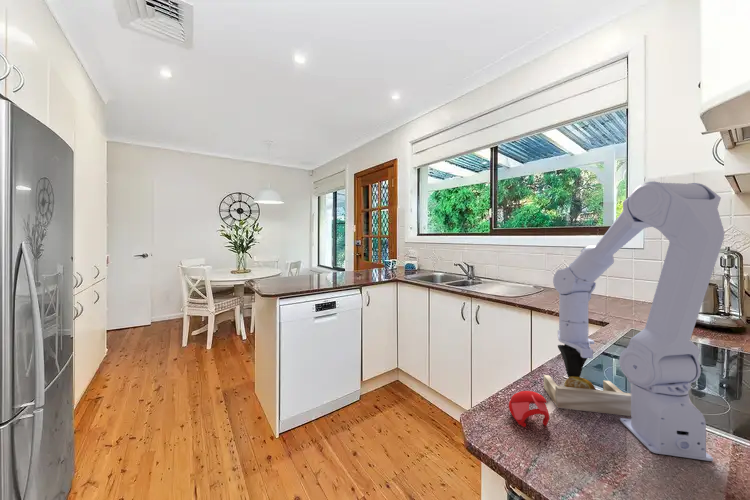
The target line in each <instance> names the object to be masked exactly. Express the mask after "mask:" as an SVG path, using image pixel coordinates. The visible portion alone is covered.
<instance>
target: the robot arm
mask: <svg viewBox="0 0 750 500" xmlns="http://www.w3.org/2000/svg"><path fill="white" fill-rule="evenodd" d="M721 199H722V197H721V196H720V195H719V194H717V193H715V191H714V190H712V189H711V188H710V187H708V186H707V185H706V184H703V183H699V182H690V183H680V182H679V183H676V182H660V181H655V180H654V181H646V182H643V183H641V184H639V185H638V186H636V187H635V188H634V189H633V190H632V191H631V193H630V195H629V196H628V197H627V198H626V199H625V200H623V202H622V212H621V213H620V214H619V215H618V217H617V218H616V219H615V220H614V221H613V223H612V224H611V225H610V227H609V228H608V230H607V231H606V232H605V233H604V235H603V236H601V238H600V240H599V241H598V242H597V244H596V245H588V246H586V247H583V248H582V249H581V250H580V254H579V255H578V256H577V257H576V258H575V259H574V260H573V261H572V262H571V263H569V266H567V267H565V268H560V269H557V270H556V272H555V273H554V276H553V281H552V282H553V286H554V289H555V290H556V291H557V292H558V294H559V295H558V296H559V297H558V298H559V299H558V300H559V304H558V305H559V306H558V309H559V310H558V312H559V313H558V315H559V317H558V324H559V325H558V328H559V329H558V330H557V340H558V342H560V343H561V344H558V345H557V348H558V350H559V352H560V354H561V356H562V360H563V363H564V366H565V371H566V375H567V378H569V377H572V376H574V377H581V375H582V370H583V368H584V366H585V363H586V362H587V360H588V359H593V358H594V356H593V355H594V350H593V348H591V345H595V340H593V339H592V338H589V302H590V301H591V299H592V293H593V292H594V291H595V289H596V285H597V282H596V281H597V280H598V279H599V278H600V277H601V276H602V275H603V274H604V273H605V272H606V271H607V270H608V269H609V268H611V266H613V265H614V262H615V259H614V255H615V254H616V253H617V252H618V251H620V250H621V249H622V248H623V247H625V245H626V244H627V243H629V242H630V241H631V240H633V238H635V237H636V236H637V235H638V234H639V233H641V231H643V230H644V229H646V228H655V230H658V231H659V232H660V233H661V234H662V235H663V236H664V237H665V238H666V239H667V240H668V241H669V244H668V248H667V251H666V254H665V258H664V261H663V264H662V268H661V271H660V274H659V278H658V282H657V286H656V289H655V293H654V296H653V299H652V303H651V306H650V310H649V313H648V317H647V321H646V323H645V327H644V328H643V329H642V330H640V331H639V332H638V333H636V334H635V335H634V336H632V337H631V338H630V340H629V343H628V345H627V347H626V348H624V350H622V351H621V352H620V355H619V357H618V359H619V360H618V361H619V363H618V364H619V367H620V370H621V371H622V373H623V374H624V376H625V377H626V379H627V381H628V382H629V383H630V393H631V416H630V418H625V417H620V418H619V421H620V422H621V423H622V424H623V425H624V426H625V427H626V428H627V429H628V430H629V431H630V432H631V433H632V434H633V435H634V436H635V438H637V439H638V441H640V442H641V443H642V444H643V445H644V446H645V447H646V448H647V449H648V451H650V452H651V453H653V454H657V455H658V454H659V455H664V456H665V455H666V456H671V457H672V456H673V457H680V458H685V459H686V458H687V459H694V460H701V461H707V462H713V461H714V458H713V456H712V455H710V454H708V453H707V429H706V428H707V424H706V419H705V416H704V414H703V413H702V411H701V410H700V409H698V408H697V407H696V406H695V405H694V403H693V402H692V400H691V399H690V394H689V391H690V390H691V389H692V387H691V385H692V383H694V382H697V380H698V379H700V376H701V373H702V370H701V365H700V360H699V357H700V353H701V349H700V348H699V346H697V345H696V344H695V343H694V342H693V341H692V340H691V338H692V335H693V332H694V329H695V326H696V324H697V320H698V317H699V314H700V312H701V308H702V305H703V302H704V299H705V297H706V294H707V290H708V287H709V284H710V282H711V278H712V275H713V272H714V269H715V267H716V264H717V263H716V262H717V261H718V257H719V254H720V252H721V248H722V245H723V241H724V238H725V230H724V226H723V223H722V218H721V216H720V213H719V206H720V202H721Z"/></svg>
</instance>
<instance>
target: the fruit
mask: <svg viewBox="0 0 750 500" xmlns="http://www.w3.org/2000/svg"><path fill="white" fill-rule="evenodd" d="M563 384H564V386H563V387H573V388H583V389H593V390H597V389H596V387H595V385H594V384H593V383H592V382H591V381H590V380H589V379H586V378H583V377H581V376H580V377H574V376H572V377H567V379H566V380H565V381H564V383H563ZM557 386H559V385H558V384H557Z"/></svg>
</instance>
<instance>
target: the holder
mask: <svg viewBox="0 0 750 500" xmlns="http://www.w3.org/2000/svg"><path fill="white" fill-rule="evenodd" d="M557 385H558V384H557V383H556V382H555V381H554V379H553V378H552V377H551V376H550V374H549V375H548V374H543V389H544V390H545V392H546V393H547V395H549V397H550V399H551V401H552V402H553V403H554V404H555V406H556V408H558V409H567V410H575V411H584V412H593V413H600V414H601V413H602V414H607V415H618V416H626V417H631V392H630V393H629V392H623V391H622V390H621V389H620V388H619V387H617V385H615V384H614V383H612V381H610V380H602V390H601V389H596V390H593V389H583V388H573V387H564V386H562V385H558V386H557Z"/></svg>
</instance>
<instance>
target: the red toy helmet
mask: <svg viewBox="0 0 750 500" xmlns="http://www.w3.org/2000/svg"><path fill="white" fill-rule="evenodd" d="M547 402H548V401H547V400H546V398H545V397H544V396H543V395H542V394H540V393H538V392H536V391H532V390H521V391H518V392H516V393H514V394H513V395H512V396H511V397H510V400H509V402H508V409H509V411H510V414H511V416H512V417H513V419H514V420H515V421H516V422H517V424H518V425H519V426H521V427H523V428H526V426H527V423H526V419H528V417H529V418H530V417H531V416H534V415H542V416H544V417H543V420H542V425H543V426H544V427H546V426H547V425H548V423H549V420H550V414H549V411H548V408H547V405H546V404H547ZM531 404H533V405H536V407H537V408H533V409H530V405H531Z"/></svg>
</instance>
